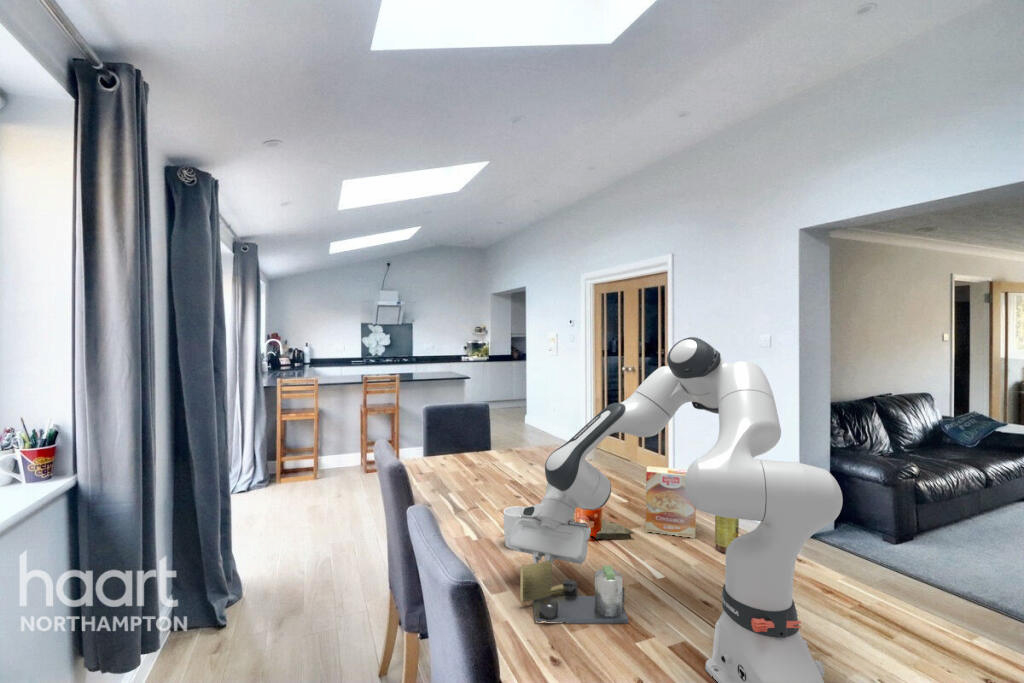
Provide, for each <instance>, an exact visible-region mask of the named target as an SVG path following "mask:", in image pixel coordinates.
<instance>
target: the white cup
mask: <svg viewBox="0 0 1024 683" xmlns="http://www.w3.org/2000/svg"><path fill="white" fill-rule="evenodd" d="M524 507H525V506H518V505H517V506H508V507H506V508H504V509H503V530H504V531H503V533H504V545H505V547H506V548H508V549H511V550H513V549H512V548H511V547H510V546H509V543H508V539H509V536H510V533H511V531H512V528H513V526H514V524H515V522H516V521H517V519H519V518H521V516H520V510H521V509H522V508H524Z"/></svg>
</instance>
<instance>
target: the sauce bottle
mask: <svg viewBox="0 0 1024 683" xmlns="http://www.w3.org/2000/svg"><path fill="white" fill-rule="evenodd" d="M739 520H740V519H735V518H726V517H720V516H717V515H714V521H715V522H714V526H715V527H714V534H715V536H714V538H715V539H714V540H715V541H714V543H715V548H716V550H717V551H718V552H721V553H723V554H726V550H727V547H728V545H729V544H730V543H731V542H732V541H733V540H734V539H735V538H737V537H739V536H740V535H739V534H740V531H739V530H740V529H739V525H740V521H739Z"/></svg>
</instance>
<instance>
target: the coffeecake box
mask: <svg viewBox="0 0 1024 683" xmlns="http://www.w3.org/2000/svg"><path fill="white" fill-rule="evenodd" d="M687 470H688V469H683V468H673V467H664V466H663V467H662V466H652V465H647V466H646V471H645V527H644V528H645V529H644V530H645V533H647V532H652V533H651V534H656V533H660V534H659V535H663V534H667V535H666V536H672V535H675V536H674V537H679V536H682V537H681V538H687V537H690V538H689V539H695V538H696V521H697V520H696V519H697V518H696V516H697V514H696V513H697V509H696V508H695V507H694V506H693V504H692V503H691V502H690V500H689V498H688V496H687V493H686V490H685V476H686V472H687Z"/></svg>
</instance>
